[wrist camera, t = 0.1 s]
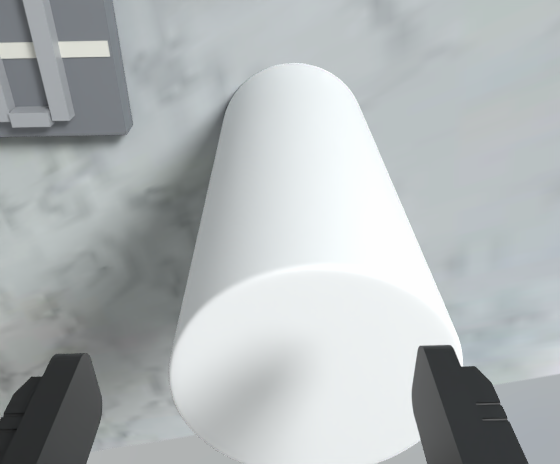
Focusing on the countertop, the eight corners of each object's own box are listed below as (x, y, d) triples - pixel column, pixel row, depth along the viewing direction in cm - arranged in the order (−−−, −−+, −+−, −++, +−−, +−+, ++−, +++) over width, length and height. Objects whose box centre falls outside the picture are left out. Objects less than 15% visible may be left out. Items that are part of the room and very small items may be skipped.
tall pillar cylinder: (232, 50, 37) (179, 245, 16) (379, 76, 39) (512, 291, 17) (215, 185, 43) (159, 463, 22) (344, 205, 44) (412, 488, 23)
